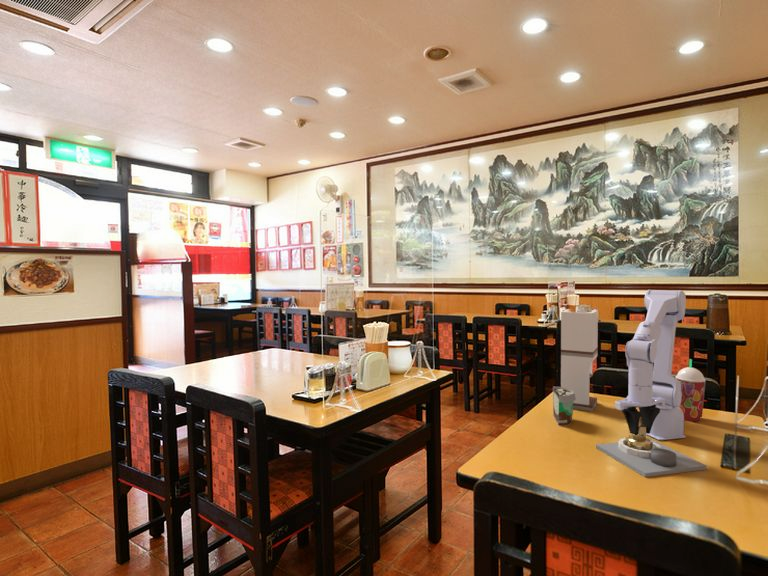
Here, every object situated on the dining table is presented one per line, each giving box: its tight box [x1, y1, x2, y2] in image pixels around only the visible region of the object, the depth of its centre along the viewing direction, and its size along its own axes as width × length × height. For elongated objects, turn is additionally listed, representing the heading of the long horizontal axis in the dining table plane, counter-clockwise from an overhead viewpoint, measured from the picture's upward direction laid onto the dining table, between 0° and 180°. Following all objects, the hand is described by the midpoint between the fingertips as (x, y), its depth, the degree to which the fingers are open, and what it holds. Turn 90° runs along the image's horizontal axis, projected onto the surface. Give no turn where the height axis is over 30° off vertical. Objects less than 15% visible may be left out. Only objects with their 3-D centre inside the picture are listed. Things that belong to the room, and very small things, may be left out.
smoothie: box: [675, 358, 707, 422], centre depth 149 cm, size 8×8×20 cm
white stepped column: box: [560, 308, 599, 412], centre depth 165 cm, size 11×11×35 cm
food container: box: [552, 386, 576, 426], centre depth 149 cm, size 12×6×10 cm, turn 168°
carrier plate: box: [595, 437, 708, 478], centre depth 120 cm, size 18×18×4 cm
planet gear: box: [625, 422, 653, 451], centre depth 123 cm, size 6×6×6 cm
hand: (639, 433), depth 122 cm, fingers open, 3 cm apart
